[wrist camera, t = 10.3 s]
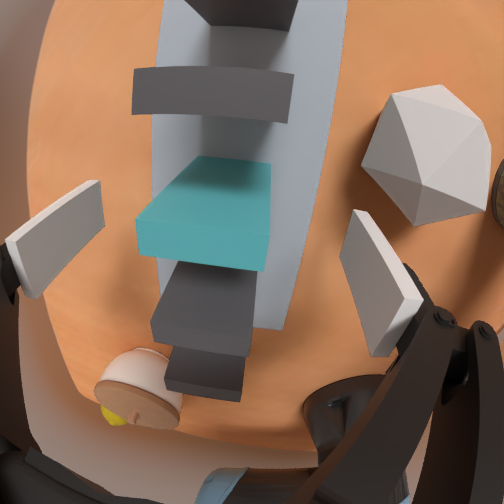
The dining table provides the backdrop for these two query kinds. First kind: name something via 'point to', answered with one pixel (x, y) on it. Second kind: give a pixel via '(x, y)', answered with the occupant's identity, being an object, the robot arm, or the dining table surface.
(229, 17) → the domino
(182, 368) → the domino
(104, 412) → the lemon
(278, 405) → the dining table surface
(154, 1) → the dining table surface
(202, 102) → the domino
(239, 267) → the teal domino
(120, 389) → the lidded jar
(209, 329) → the domino
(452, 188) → the die
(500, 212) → the thermos
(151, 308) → the dining table surface
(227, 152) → the mat
